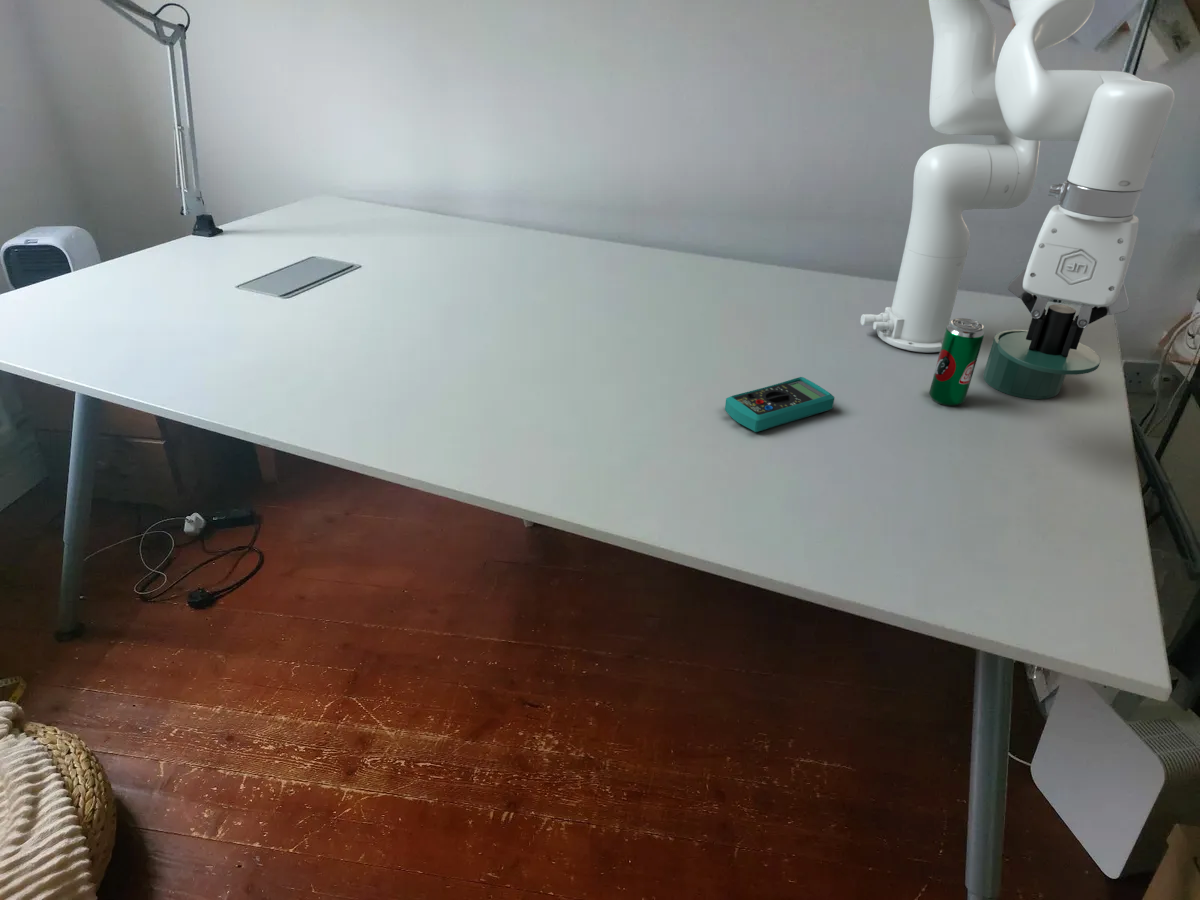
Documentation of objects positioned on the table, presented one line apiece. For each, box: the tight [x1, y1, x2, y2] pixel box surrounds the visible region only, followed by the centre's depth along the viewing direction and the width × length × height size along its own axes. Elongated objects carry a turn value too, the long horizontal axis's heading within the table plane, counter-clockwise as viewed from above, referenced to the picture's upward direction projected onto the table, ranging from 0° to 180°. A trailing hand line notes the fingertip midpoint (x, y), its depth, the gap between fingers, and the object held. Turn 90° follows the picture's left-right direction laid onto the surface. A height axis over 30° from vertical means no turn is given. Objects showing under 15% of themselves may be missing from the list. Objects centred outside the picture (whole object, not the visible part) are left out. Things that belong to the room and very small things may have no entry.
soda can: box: [928, 317, 985, 407], centre depth 116 cm, size 5×5×12 cm
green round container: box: [982, 329, 1066, 400], centre depth 122 cm, size 11×11×6 cm
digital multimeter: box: [724, 376, 835, 433], centre depth 114 cm, size 7×15×3 cm, turn 119°
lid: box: [997, 303, 1101, 376], centre depth 100 cm, size 12×12×7 cm
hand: (1049, 348), depth 101 cm, fingers closed on lid, 3 cm apart
